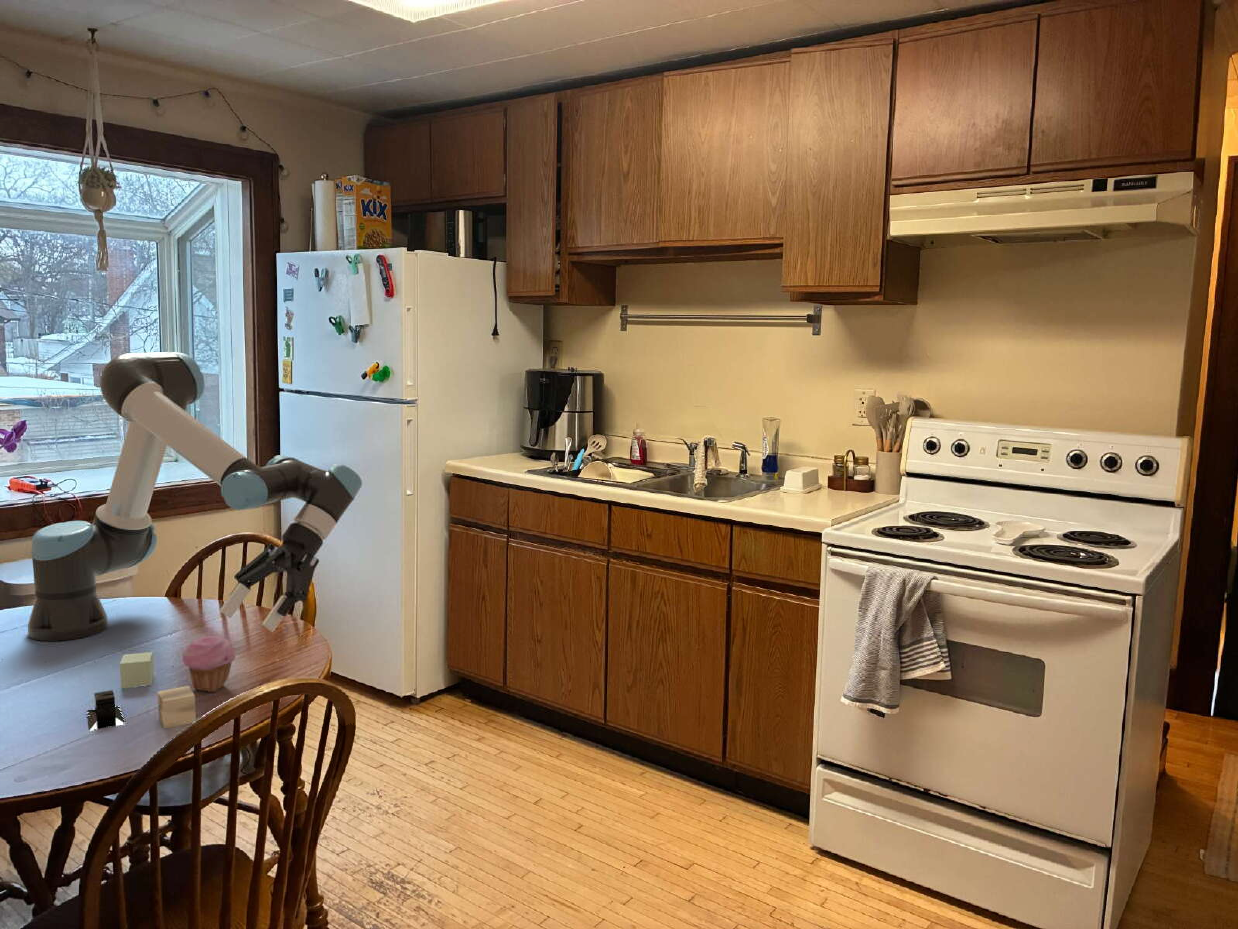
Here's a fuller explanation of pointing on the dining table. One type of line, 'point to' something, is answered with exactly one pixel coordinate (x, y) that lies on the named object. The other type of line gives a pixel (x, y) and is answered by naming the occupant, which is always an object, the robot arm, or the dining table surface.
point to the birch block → (176, 706)
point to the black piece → (104, 712)
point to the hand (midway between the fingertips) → (245, 621)
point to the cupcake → (209, 662)
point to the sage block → (136, 669)
